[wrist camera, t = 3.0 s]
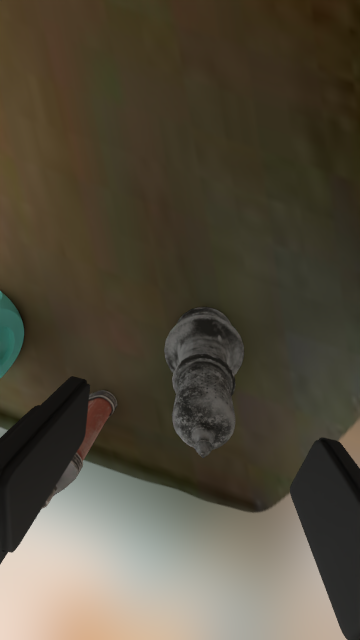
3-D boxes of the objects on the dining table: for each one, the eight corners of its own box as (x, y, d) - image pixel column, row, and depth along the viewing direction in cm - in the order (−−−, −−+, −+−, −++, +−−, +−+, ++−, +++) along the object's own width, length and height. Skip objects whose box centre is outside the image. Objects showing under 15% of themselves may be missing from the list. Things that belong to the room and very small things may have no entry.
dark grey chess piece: (189, 373, 20) (170, 524, 9) (159, 320, 19) (95, 420, 8) (247, 350, 19) (312, 493, 8) (219, 291, 18) (249, 360, 6)
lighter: (74, 437, 25) (-7, 553, 15) (53, 417, 24) (-45, 525, 14) (124, 407, 22) (66, 519, 13) (102, 383, 22) (25, 484, 12)
